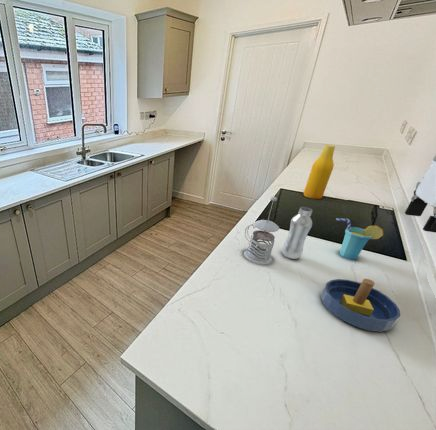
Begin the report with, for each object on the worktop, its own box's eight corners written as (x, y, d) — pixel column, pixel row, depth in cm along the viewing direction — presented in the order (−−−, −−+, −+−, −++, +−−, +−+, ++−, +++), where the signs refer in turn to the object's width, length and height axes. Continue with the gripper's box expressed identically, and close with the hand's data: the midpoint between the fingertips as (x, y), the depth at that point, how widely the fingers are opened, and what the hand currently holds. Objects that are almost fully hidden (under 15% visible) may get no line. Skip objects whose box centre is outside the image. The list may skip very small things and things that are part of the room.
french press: (263, 267, 95) (281, 205, 83) (234, 252, 103) (247, 194, 92) (277, 258, 99) (296, 198, 88) (248, 244, 108) (263, 188, 97)
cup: (324, 255, 100) (339, 221, 94) (321, 245, 106) (334, 212, 100) (371, 265, 94) (390, 229, 88) (365, 254, 101) (382, 220, 94)
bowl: (379, 299, 80) (386, 288, 78) (403, 341, 67) (412, 329, 65) (315, 284, 86) (320, 273, 84) (326, 320, 73) (332, 309, 71)
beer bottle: (323, 195, 152) (342, 145, 138) (320, 200, 146) (339, 148, 132) (304, 192, 157) (321, 143, 144) (301, 196, 151) (317, 146, 138)
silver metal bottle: (290, 262, 97) (307, 214, 88) (276, 252, 103) (290, 206, 94) (304, 259, 98) (322, 212, 89) (289, 249, 104) (305, 204, 95)
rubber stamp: (365, 306, 77) (380, 280, 72) (370, 316, 74) (386, 289, 69) (340, 300, 79) (353, 274, 75) (343, 309, 76) (357, 282, 72)
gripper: (511, 171, 53) (462, 242, 61) (457, 152, 67) (423, 212, 74) (458, 167, 56) (418, 235, 64) (418, 149, 70) (388, 207, 77)
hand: (421, 222), depth 69 cm, fingers open, 9 cm apart
